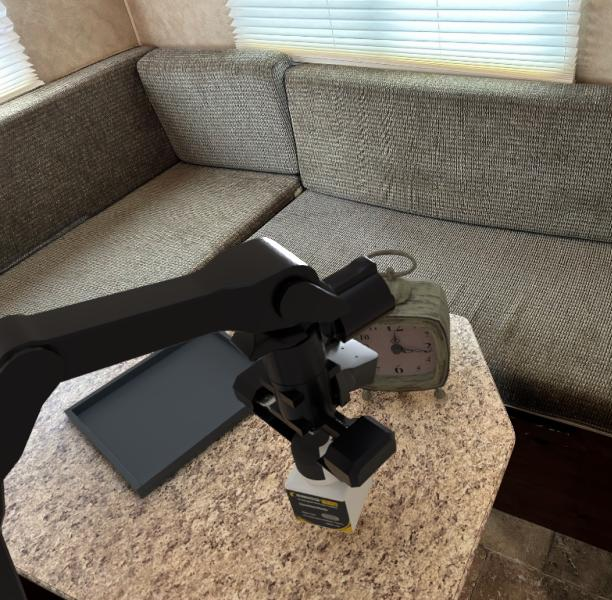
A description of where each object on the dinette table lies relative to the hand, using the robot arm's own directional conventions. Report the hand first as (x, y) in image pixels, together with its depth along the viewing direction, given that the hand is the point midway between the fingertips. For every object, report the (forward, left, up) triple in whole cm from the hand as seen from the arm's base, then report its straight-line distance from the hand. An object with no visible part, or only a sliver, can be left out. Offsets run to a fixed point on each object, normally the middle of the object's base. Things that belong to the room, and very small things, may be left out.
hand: (324, 462), depth 66 cm
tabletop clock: (+22, +9, -13) cm, 27 cm away
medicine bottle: (0, 0, -8) cm, 8 cm away
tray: (-1, +34, -13) cm, 37 cm away
